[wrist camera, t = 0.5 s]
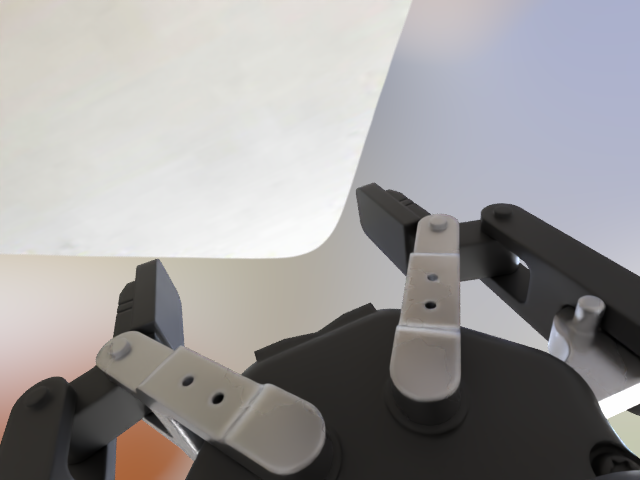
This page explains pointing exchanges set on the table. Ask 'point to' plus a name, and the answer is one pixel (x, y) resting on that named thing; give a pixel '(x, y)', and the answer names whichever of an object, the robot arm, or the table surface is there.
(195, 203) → the table surface
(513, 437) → the robot arm
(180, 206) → the table surface
